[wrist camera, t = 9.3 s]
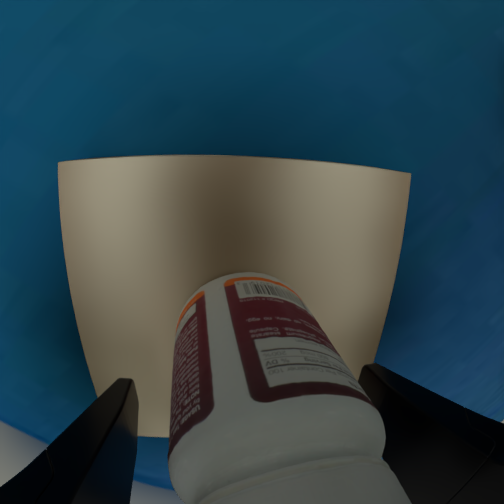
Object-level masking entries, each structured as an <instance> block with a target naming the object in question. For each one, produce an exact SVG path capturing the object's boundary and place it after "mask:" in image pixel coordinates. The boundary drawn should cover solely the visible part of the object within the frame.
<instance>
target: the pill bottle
mask: <svg viewBox="0 0 504 504" xmlns="http://www.w3.org/2000/svg"><path fill="white" fill-rule="evenodd" d="M170 401H171V408H170V429H169V452H168V467H169V474H170V479H171V483H172V485H173V487H174V489H175V491H176V493H177V495H178V496H179V497H180V498H181V500H182V501H183V502H184V503H185V504H412V503H411V502H410V500H409V498H408V496H407V494H406V493H405V491H404V489H403V488H402V486H401V484H400V483H399V481H398V479H397V477H396V475H395V474H394V472H393V471H392V470H390V467H389V465H388V464H387V463H386V462H385V461H384V460H382V459H381V457H382V454H383V450H384V447H385V439H386V435H385V428H384V423H383V420H382V418H381V415H380V413H379V411H378V409H377V408H376V407H375V406H374V404H373V403H372V402H371V400H370V399H369V398H368V396H367V395H366V393H365V392H364V390H363V389H362V388H361V386H360V385H359V383H358V382H357V380H356V379H355V377H354V376H353V374H352V373H351V371H350V370H349V368H348V367H347V365H346V364H345V362H344V361H343V359H342V358H341V356H340V355H339V353H338V352H337V351H336V349H335V348H334V346H333V345H332V343H331V341H330V340H329V338H328V337H327V335H326V334H325V332H324V331H323V330H322V328H321V327H320V325H319V323H318V322H317V321H316V319H315V318H314V316H313V315H312V313H311V312H310V310H309V309H308V307H307V306H306V305H305V303H304V302H303V300H302V299H301V298H300V296H299V295H298V294H297V293H296V292H295V291H294V290H293V289H292V288H291V287H290V286H289V285H287V284H286V283H284V282H282V281H281V280H279V279H277V278H275V277H272V276H269V275H266V274H262V273H255V272H242V273H234V274H229V275H225V276H222V277H219V278H217V279H215V280H212V281H210V282H208V283H207V284H205V285H203V286H202V287H200V288H199V289H198V290H197V291H196V292H195V293H194V294H193V295H192V296H191V297H190V298H189V299H188V301H187V302H186V304H185V305H184V307H183V309H182V311H181V312H180V315H179V318H178V321H177V326H176V334H175V343H174V356H173V370H172V389H171V400H170Z"/></svg>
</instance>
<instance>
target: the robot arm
mask: <svg viewBox="0 0 504 504" xmlns="http://www.w3.org/2000/svg"><path fill="white" fill-rule="evenodd" d="M358 383H359V385H360V386H361V388H362V389H363V390H364V392H365V393H366V395H367V396H368V398H369V399H370V400H371V402H372V403H373V404H374V406H375V407H376V408H377V409H378V411H379V413H380V415H381V418H382V420H383V423H384V428H385V435H386V439H385V447H384V450H383V454H382V457H383V460H384V461H385V462H386V463H387V464H388V465H389V467H390V470H392V471H393V472H394V474H395V475H396V477H397V479H398V481H399V483H400V484H401V486H402V488H403V489H404V491H405V493H406V494H407V496H408V498H409V500H410V502H411V503H412V504H504V423H501V422H498V421H495V420H493V419H490V418H487V417H485V416H483V415H480V414H478V413H476V412H474V411H472V410H470V409H467V408H464V407H463V406H461V405H459V404H457V403H455V402H453V401H451V400H449V399H447V398H444V397H442V396H440V395H438V394H436V393H434V392H432V391H430V390H428V389H426V388H424V387H422V386H420V385H418V384H416V383H414V382H412V381H410V380H408V379H406V378H404V377H402V376H400V375H398V374H396V373H394V372H393V371H391V370H389V369H387V368H385V367H383V366H381V365H379V364H377V363H371V364H365V365H364V366H363V367H362V369H361V372H360V376H359V379H358ZM138 412H139V401H138V396H137V392H136V387H135V383H134V380H133V379H131V378H118V379H117V380H116V381H115V382H114V383H113V384H112V385H111V386H110V387H109V388H108V389H106V390H105V391H104V392H103V393H102V394H101V395H100V396H99V397H98V398H97V399H96V400H95V401H94V402H93V403H92V404H91V405H90V406H89V407H88V408H87V409H86V410H85V411H84V412H83V413H82V414H81V415H80V416H79V417H78V418H77V419H76V420H75V421H74V422H73V423H72V424H70V425H69V426H68V427H67V428H66V429H65V430H64V431H63V432H62V433H61V434H60V435H59V436H58V437H57V438H56V439H55V440H54V441H53V442H52V443H51V444H50V445H49V446H48V447H47V450H44V451H43V452H42V453H41V454H40V455H39V456H37V457H36V458H35V459H34V460H33V461H32V462H31V463H30V464H29V465H28V466H27V467H25V468H24V469H23V470H22V471H21V472H19V473H18V474H17V475H16V476H14V477H13V478H12V479H10V480H9V481H8V482H6V483H5V484H4V485H2V486H1V487H0V504H130V496H131V489H132V482H133V475H134V468H135V461H136V454H137V434H138Z"/></svg>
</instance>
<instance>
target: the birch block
mask: <svg viewBox="0 0 504 504" xmlns="http://www.w3.org/2000/svg"><path fill="white" fill-rule="evenodd" d="M410 180H411V173H405V172H400V171H394V170H388V169H382V168H376V167H369V166H361V165H353V164H344V163H335V162H325V161H315V160H303V159H290V158H275V157H257V156H232V155H144V156H120V157H102V158H88V159H80V160H71V161H63V162H58V183H59V203H60V217H61V228H62V238H63V246H64V254H65V261H66V268H67V275H68V281H69V287H70V292H71V298H72V303H73V308H74V312H75V317H76V322H77V326H78V330H79V334H80V338H81V342H82V346H83V350H84V354H85V358H86V361H87V365H88V368H89V371H90V375H91V378H92V381H93V384H94V388H95V391H96V394H97V397H99V396H100V395H101V394H102V393H103V392H104V391H105V390H106V389H108V388H109V387H110V386H111V385H112V384H113V383H114V382H115V381H116V380H117V379H118V378H131V379H133V380H134V383H135V387H136V392H137V396H138V401H139V412H138V434H137V436H148V437H169V429H170V408H171V401H170V400H171V389H172V370H173V356H174V343H175V334H176V326H177V321H178V318H179V315H180V312H181V311H182V309H183V307H184V305H185V304H186V302H187V301H188V299H189V298H190V297H191V296H192V295H193V294H194V293H195V292H196V291H197V290H198V289H199V288H200V287H202V286H203V285H205V284H207V283H208V282H210V281H212V280H215V279H217V278H219V277H222V276H225V275H229V274H234V273H242V272H255V273H262V274H266V275H269V276H272V277H275V278H277V279H279V280H281V281H282V282H284V283H286V284H287V285H289V286H290V287H291V288H292V289H293V290H294V291H295V292H296V293H297V294H298V295H299V296H300V298H301V299H302V300H303V302H304V303H305V305H306V306H307V307H308V309H309V310H310V312H311V313H312V315H313V316H314V318H315V319H316V321H317V322H318V323H319V325H320V327H321V328H322V330H323V331H324V332H325V334H326V335H327V337H328V338H329V340H330V341H331V343H332V345H333V346H334V348H335V349H336V351H337V352H338V353H339V355H340V356H341V358H342V359H343V361H344V362H345V364H346V365H347V367H348V368H349V370H350V371H351V373H352V374H353V376H354V377H355V379H356V380H357V382H358V379H359V376H360V372H361V369H362V367H363V366H364V365H365V364H371V363H373V361H374V358H375V355H376V351H377V348H378V345H379V341H380V338H381V334H382V330H383V327H384V323H385V319H386V315H387V311H388V307H389V303H390V299H391V294H392V290H393V285H394V281H395V276H396V271H397V266H398V261H399V256H400V250H401V245H402V239H403V233H404V226H405V220H406V213H407V205H408V197H409V189H410Z"/></svg>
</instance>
